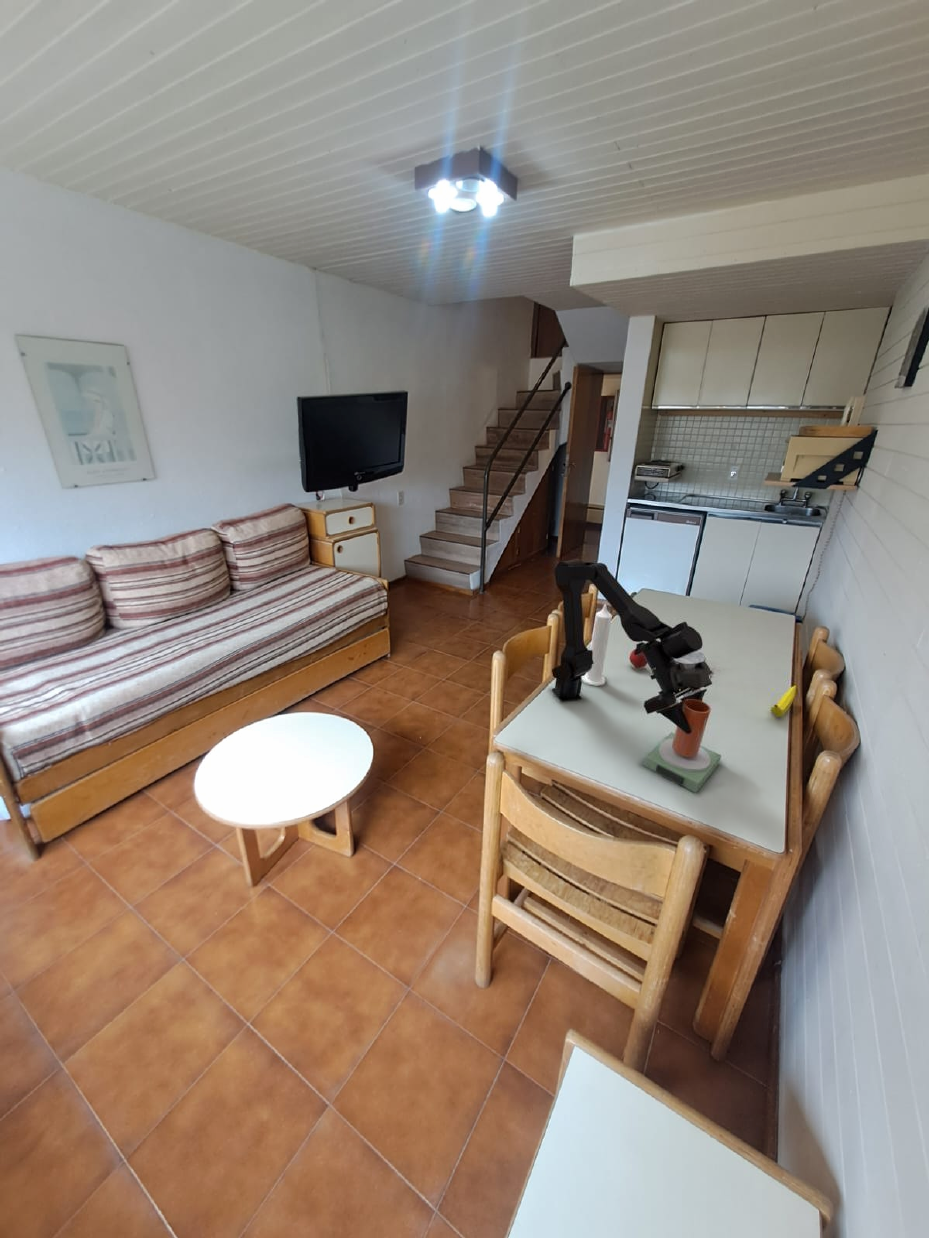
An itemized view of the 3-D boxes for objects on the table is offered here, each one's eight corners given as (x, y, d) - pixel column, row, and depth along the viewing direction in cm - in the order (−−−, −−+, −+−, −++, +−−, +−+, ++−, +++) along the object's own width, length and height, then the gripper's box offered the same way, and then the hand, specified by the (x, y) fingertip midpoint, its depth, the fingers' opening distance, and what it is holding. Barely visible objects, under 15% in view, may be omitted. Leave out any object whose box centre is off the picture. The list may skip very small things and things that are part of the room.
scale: (694, 793, 106) (698, 781, 105) (642, 766, 114) (645, 755, 113) (719, 763, 116) (722, 752, 115) (669, 740, 123) (672, 729, 122)
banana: (795, 702, 142) (802, 683, 140) (775, 727, 130) (782, 707, 128) (784, 698, 144) (791, 679, 142) (763, 723, 132) (770, 702, 130)
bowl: (676, 654, 168) (679, 641, 167) (710, 670, 159) (714, 657, 157) (651, 662, 162) (654, 649, 160) (685, 680, 152) (689, 666, 150)
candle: (592, 688, 146) (604, 610, 136) (576, 677, 151) (587, 601, 142) (610, 683, 149) (623, 606, 139) (594, 672, 154) (606, 598, 145)
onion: (644, 664, 161) (648, 642, 158) (648, 673, 155) (653, 650, 152) (626, 663, 161) (630, 641, 158) (629, 671, 156) (634, 649, 153)
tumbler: (669, 751, 113) (680, 706, 108) (674, 738, 117) (686, 695, 112) (695, 760, 110) (708, 715, 105) (699, 747, 114) (712, 704, 110)
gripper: (666, 664, 102) (704, 735, 98) (714, 643, 112) (749, 706, 109) (628, 680, 111) (661, 746, 107) (675, 659, 121) (707, 719, 118)
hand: (696, 728), depth 110 cm, fingers closed on tumbler, 5 cm apart
